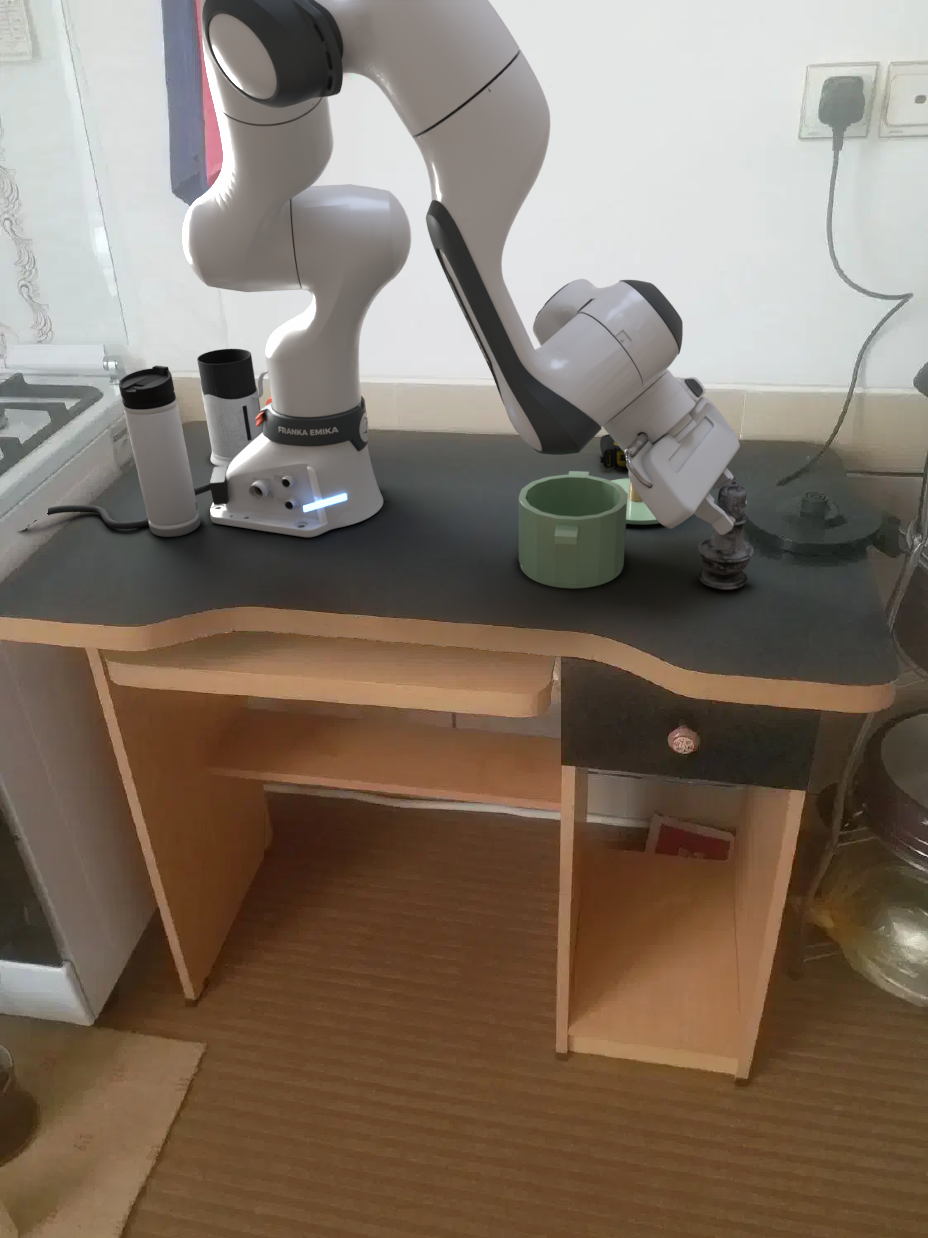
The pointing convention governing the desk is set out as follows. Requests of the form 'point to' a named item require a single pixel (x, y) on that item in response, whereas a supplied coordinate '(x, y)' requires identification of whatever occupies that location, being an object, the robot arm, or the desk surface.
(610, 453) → the tape measure
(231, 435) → the tall handled mug
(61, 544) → the desk surface
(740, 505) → the salt shaker
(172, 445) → the travel mug
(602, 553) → the pot
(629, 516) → the pot lid
